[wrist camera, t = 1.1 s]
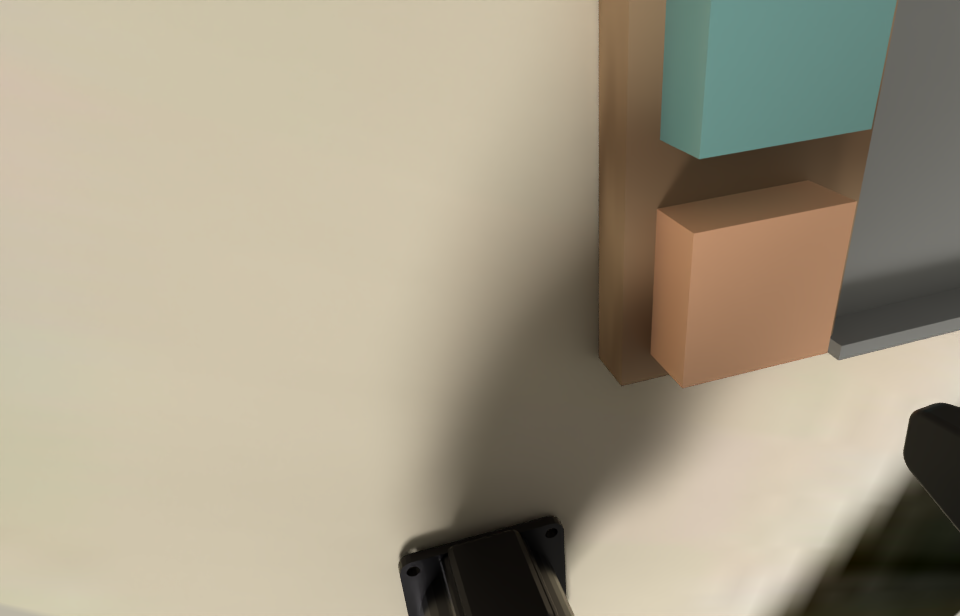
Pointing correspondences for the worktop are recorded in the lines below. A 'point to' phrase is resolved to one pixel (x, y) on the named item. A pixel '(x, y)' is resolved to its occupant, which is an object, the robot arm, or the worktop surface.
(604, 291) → the walnut step
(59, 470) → the worktop surface
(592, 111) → the worktop surface
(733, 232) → the terracotta tile
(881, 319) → the grey tray
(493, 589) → the robot arm
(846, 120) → the teal tile
